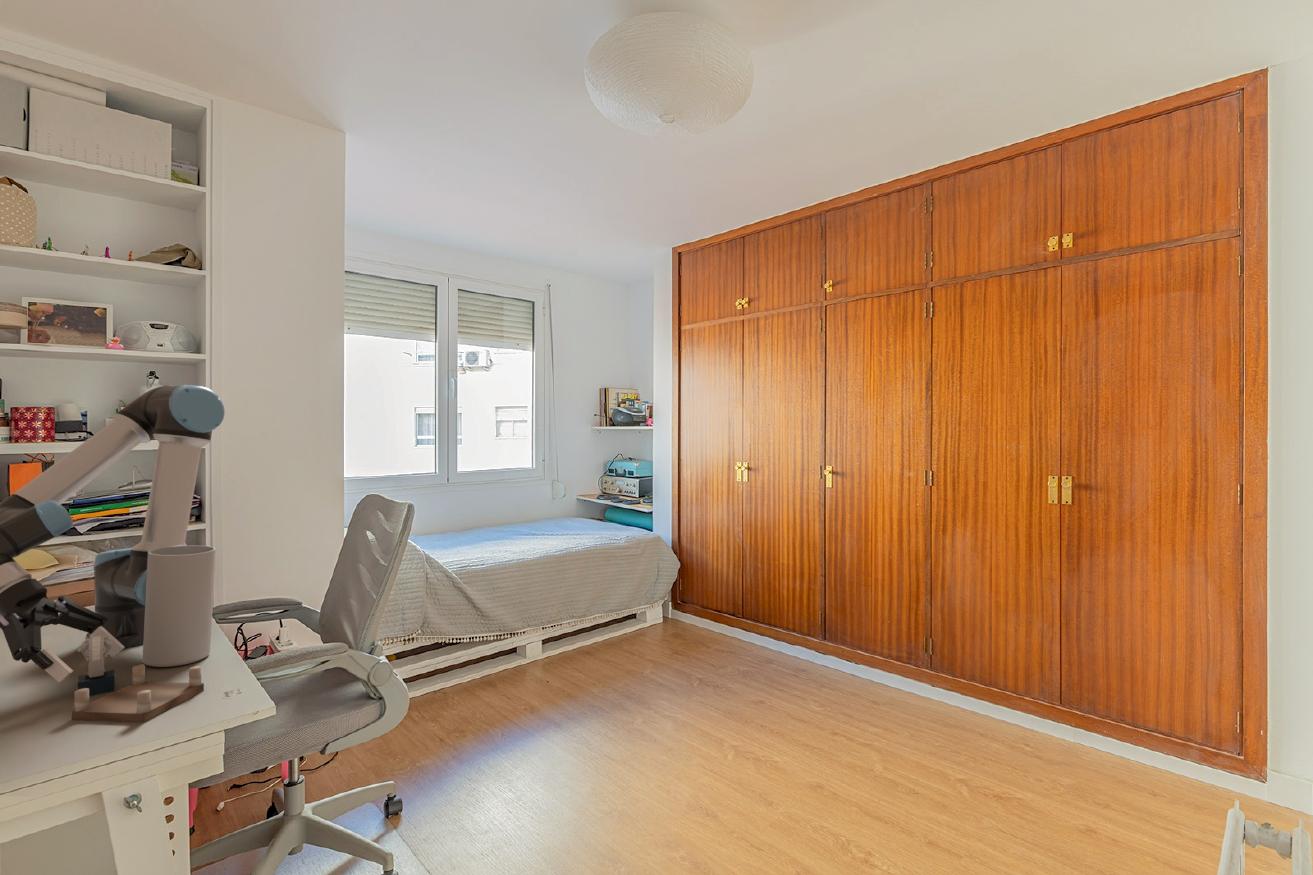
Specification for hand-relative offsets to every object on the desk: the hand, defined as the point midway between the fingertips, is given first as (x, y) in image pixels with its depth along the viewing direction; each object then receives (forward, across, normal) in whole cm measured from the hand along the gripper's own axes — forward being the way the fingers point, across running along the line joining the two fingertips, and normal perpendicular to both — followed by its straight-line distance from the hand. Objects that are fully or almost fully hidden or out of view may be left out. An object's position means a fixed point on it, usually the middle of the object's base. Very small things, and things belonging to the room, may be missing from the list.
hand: (94, 664), depth 128 cm
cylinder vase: (+7, -18, -1) cm, 20 cm away
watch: (+4, -1, -4) cm, 6 cm away
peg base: (+13, +7, +5) cm, 16 cm away
